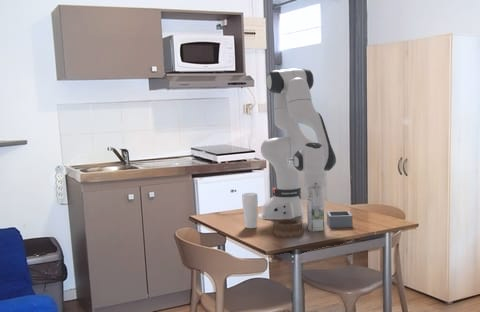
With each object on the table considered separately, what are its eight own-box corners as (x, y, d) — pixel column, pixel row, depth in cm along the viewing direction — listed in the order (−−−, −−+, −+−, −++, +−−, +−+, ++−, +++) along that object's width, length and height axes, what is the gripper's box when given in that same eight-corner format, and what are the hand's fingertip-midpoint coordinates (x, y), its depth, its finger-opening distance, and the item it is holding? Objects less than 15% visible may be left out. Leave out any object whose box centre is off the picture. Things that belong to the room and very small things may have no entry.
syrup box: (320, 227, 219) (319, 194, 218) (324, 231, 214) (323, 197, 212) (307, 228, 218) (306, 195, 217) (311, 232, 213) (310, 198, 211)
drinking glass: (247, 230, 221) (245, 196, 220) (241, 226, 227) (239, 193, 226) (261, 227, 224) (259, 194, 222) (254, 224, 230) (253, 192, 228)
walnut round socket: (274, 238, 206) (273, 226, 206) (274, 230, 218) (273, 219, 217) (303, 237, 206) (303, 225, 205) (301, 229, 217) (301, 218, 217)
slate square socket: (329, 227, 219) (329, 216, 218) (327, 222, 228) (326, 211, 228) (352, 227, 218) (352, 215, 218) (349, 221, 228) (348, 210, 227)
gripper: (325, 185, 203) (325, 219, 205) (319, 177, 224) (320, 208, 225) (309, 185, 204) (310, 219, 205) (305, 178, 224) (306, 208, 225)
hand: (315, 213), depth 215 cm, fingers closed on syrup box, 6 cm apart
